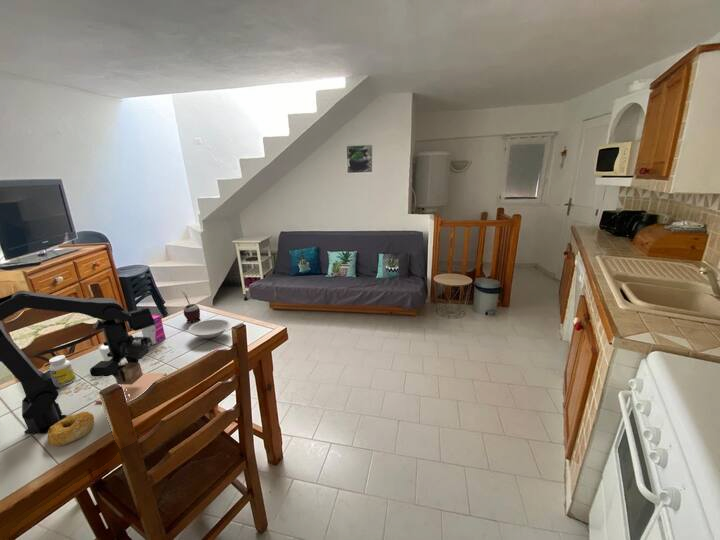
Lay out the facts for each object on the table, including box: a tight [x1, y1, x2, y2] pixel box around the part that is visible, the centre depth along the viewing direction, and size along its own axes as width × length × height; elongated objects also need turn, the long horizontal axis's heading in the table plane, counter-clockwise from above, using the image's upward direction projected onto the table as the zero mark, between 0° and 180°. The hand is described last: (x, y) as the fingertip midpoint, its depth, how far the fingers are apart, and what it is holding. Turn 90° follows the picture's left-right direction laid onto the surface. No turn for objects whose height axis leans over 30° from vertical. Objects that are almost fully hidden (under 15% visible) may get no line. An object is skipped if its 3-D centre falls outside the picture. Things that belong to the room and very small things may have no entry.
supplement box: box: [140, 314, 166, 346], centre depth 130 cm, size 6×6×12 cm
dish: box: [187, 318, 231, 339], centre depth 134 cm, size 18×14×5 cm
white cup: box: [98, 343, 112, 361], centre depth 118 cm, size 7×7×7 cm
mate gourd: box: [181, 290, 201, 325], centre depth 147 cm, size 8×8×15 cm
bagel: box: [47, 411, 95, 447], centre depth 85 cm, size 10×11×5 cm
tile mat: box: [95, 372, 167, 404], centre depth 103 cm, size 14×14×1 cm
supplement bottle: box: [48, 354, 76, 387], centre depth 105 cm, size 5×5×10 cm
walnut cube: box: [115, 362, 144, 385], centre depth 101 cm, size 5×5×5 cm
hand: (129, 376), depth 101 cm, fingers closed on walnut cube, 5 cm apart
